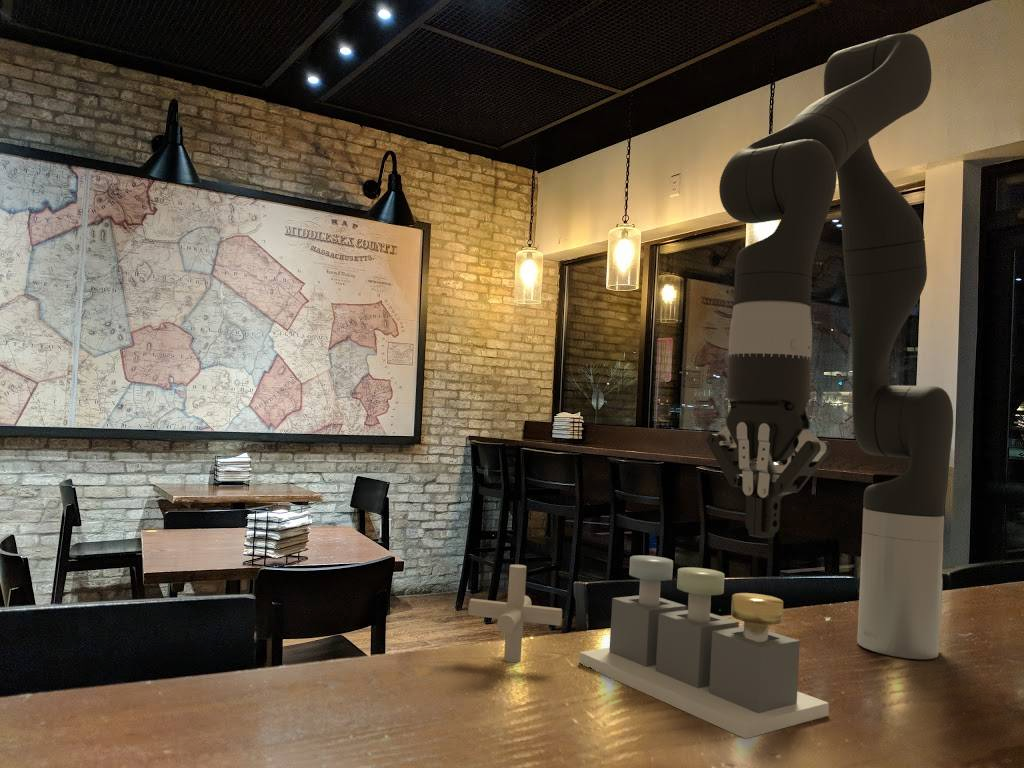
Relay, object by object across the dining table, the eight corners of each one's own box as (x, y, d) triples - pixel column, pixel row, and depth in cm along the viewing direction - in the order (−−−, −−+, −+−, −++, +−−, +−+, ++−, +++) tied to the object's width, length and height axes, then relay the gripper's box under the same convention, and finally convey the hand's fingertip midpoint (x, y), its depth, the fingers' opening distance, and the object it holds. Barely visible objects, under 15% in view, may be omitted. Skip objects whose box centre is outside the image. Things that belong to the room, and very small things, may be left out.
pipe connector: (551, 680, 79) (557, 579, 80) (455, 667, 81) (461, 569, 82) (564, 652, 89) (569, 563, 90) (478, 641, 91) (484, 554, 92)
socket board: (658, 650, 92) (661, 590, 93) (828, 715, 74) (831, 640, 75) (579, 663, 85) (582, 597, 86) (745, 738, 67) (749, 655, 68)
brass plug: (748, 677, 77) (753, 591, 78) (789, 692, 74) (793, 602, 74) (717, 683, 75) (721, 595, 75) (757, 699, 71) (762, 606, 71)
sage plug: (694, 645, 83) (699, 566, 84) (729, 658, 79) (734, 575, 80) (663, 651, 81) (668, 568, 81) (698, 664, 77) (703, 578, 77)
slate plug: (647, 629, 89) (651, 554, 89) (677, 639, 85) (682, 562, 86) (616, 633, 86) (621, 556, 87) (647, 644, 83) (651, 564, 83)
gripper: (856, 355, 72) (848, 546, 72) (739, 358, 83) (731, 524, 82) (806, 347, 68) (798, 551, 67) (689, 352, 79) (681, 527, 78)
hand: (761, 536), depth 75 cm, fingers closed
